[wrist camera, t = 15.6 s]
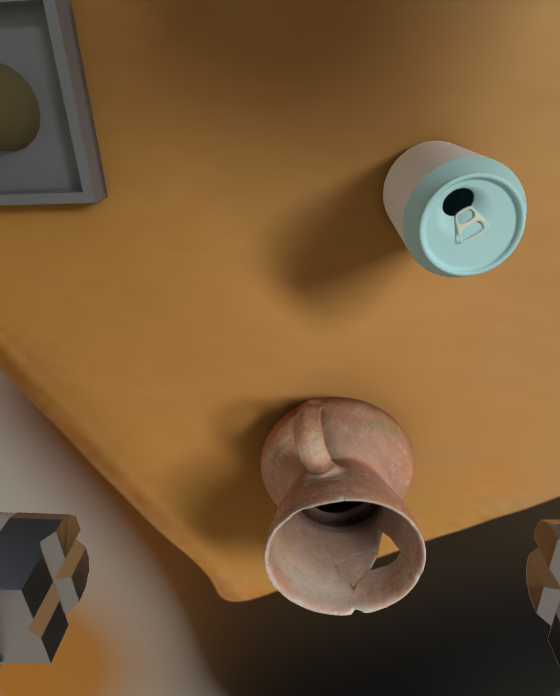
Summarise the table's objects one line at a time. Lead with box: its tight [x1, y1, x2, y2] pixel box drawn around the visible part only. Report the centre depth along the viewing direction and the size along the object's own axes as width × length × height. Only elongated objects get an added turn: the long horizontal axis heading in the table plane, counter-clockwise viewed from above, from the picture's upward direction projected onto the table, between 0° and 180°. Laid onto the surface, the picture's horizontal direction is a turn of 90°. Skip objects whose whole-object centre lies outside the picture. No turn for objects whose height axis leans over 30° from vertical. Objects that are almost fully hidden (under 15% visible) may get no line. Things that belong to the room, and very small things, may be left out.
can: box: [383, 141, 527, 277], centre depth 33 cm, size 7×7×12 cm
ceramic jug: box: [260, 397, 426, 615], centre depth 44 cm, size 18×14×14 cm
